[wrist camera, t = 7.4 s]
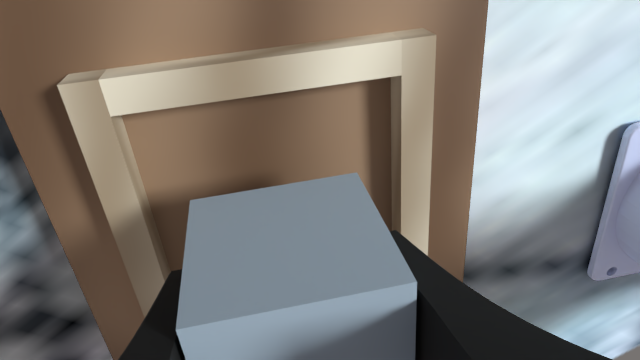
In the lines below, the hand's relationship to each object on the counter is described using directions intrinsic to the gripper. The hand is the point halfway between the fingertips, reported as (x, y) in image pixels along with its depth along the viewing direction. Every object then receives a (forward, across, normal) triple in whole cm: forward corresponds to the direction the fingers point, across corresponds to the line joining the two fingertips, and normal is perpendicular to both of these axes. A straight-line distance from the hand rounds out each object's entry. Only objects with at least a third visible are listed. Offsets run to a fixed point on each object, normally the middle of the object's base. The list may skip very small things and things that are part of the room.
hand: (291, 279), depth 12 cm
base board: (+6, 0, 0) cm, 6 cm away
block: (+2, 0, 0) cm, 2 cm away
